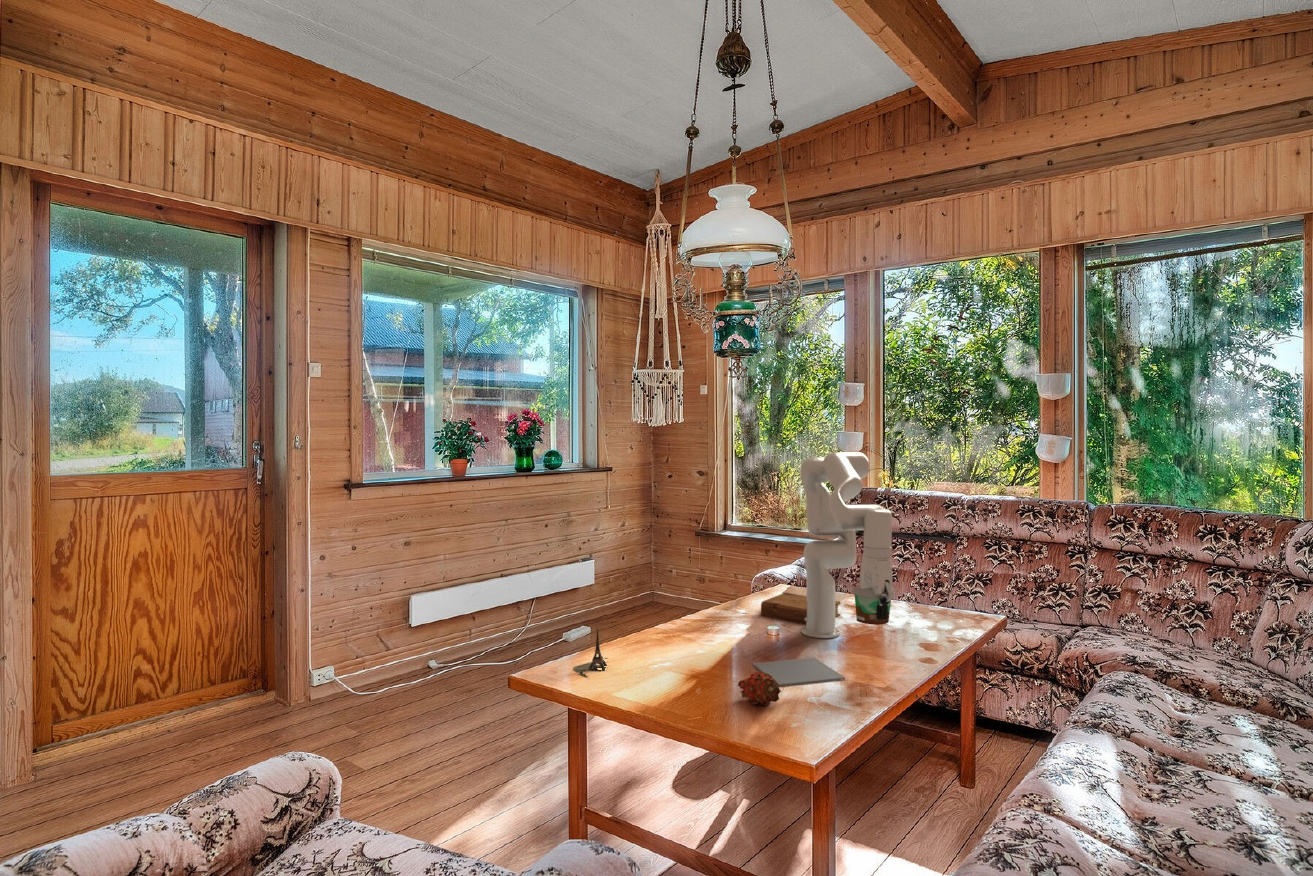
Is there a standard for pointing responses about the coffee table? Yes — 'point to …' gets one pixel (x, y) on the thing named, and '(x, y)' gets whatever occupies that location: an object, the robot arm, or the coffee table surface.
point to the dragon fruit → (760, 688)
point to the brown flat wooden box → (788, 607)
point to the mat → (798, 671)
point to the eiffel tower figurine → (595, 660)
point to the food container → (868, 606)
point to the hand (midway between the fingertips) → (876, 615)
